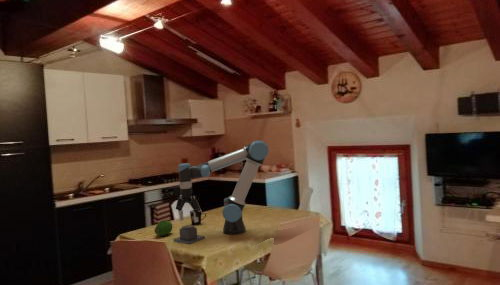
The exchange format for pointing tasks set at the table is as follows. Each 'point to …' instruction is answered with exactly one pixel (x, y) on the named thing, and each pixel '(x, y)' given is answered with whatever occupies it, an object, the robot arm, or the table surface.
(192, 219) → the coffee mug
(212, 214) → the table surface
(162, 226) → the fruit
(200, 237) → the grey peg base
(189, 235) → the grey block
